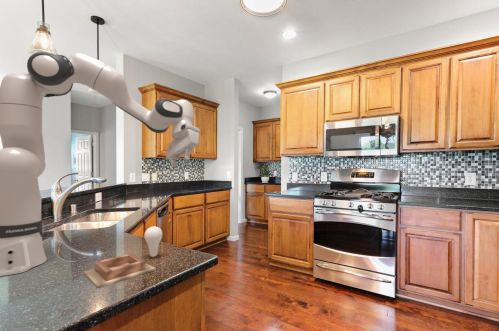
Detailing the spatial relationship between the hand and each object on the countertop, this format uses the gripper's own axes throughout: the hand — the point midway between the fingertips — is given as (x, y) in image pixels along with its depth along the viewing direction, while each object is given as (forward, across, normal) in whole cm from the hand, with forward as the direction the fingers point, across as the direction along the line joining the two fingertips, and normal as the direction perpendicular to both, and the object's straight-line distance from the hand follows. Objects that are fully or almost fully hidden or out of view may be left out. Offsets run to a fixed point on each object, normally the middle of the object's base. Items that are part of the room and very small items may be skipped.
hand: (180, 163), depth 103 cm
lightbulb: (+37, -6, -4) cm, 37 cm away
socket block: (+41, -1, -17) cm, 44 cm away
